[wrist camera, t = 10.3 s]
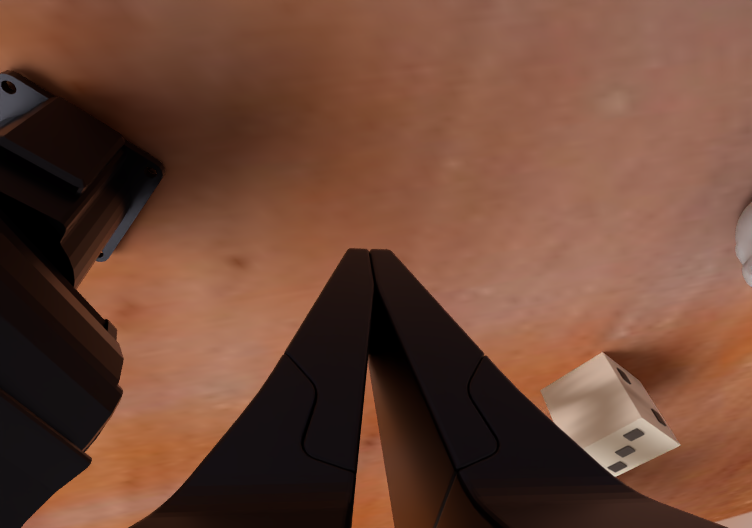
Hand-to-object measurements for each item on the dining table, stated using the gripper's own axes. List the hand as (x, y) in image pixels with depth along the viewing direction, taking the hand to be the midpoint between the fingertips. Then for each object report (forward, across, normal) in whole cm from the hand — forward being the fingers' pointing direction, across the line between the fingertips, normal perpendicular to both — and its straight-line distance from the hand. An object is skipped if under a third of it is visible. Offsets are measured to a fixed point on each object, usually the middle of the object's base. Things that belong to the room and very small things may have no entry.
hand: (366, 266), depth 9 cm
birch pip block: (+12, -18, +20) cm, 29 cm away
